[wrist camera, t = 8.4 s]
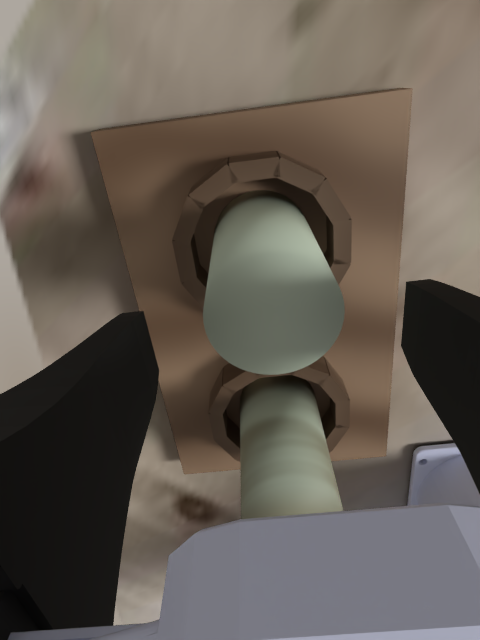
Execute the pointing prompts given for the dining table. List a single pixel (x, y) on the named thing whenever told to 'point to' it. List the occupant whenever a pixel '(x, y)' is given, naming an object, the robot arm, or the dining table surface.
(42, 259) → the dining table surface
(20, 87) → the dining table surface
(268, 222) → the loose peg
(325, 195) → the peg stand
